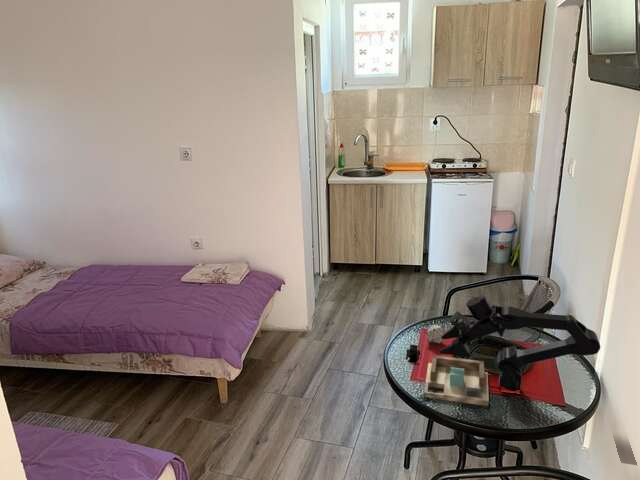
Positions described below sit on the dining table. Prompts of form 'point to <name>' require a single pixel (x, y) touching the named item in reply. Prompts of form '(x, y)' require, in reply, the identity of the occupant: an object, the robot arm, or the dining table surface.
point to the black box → (412, 354)
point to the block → (456, 377)
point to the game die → (435, 333)
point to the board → (454, 393)
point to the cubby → (458, 366)
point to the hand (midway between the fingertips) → (440, 345)
